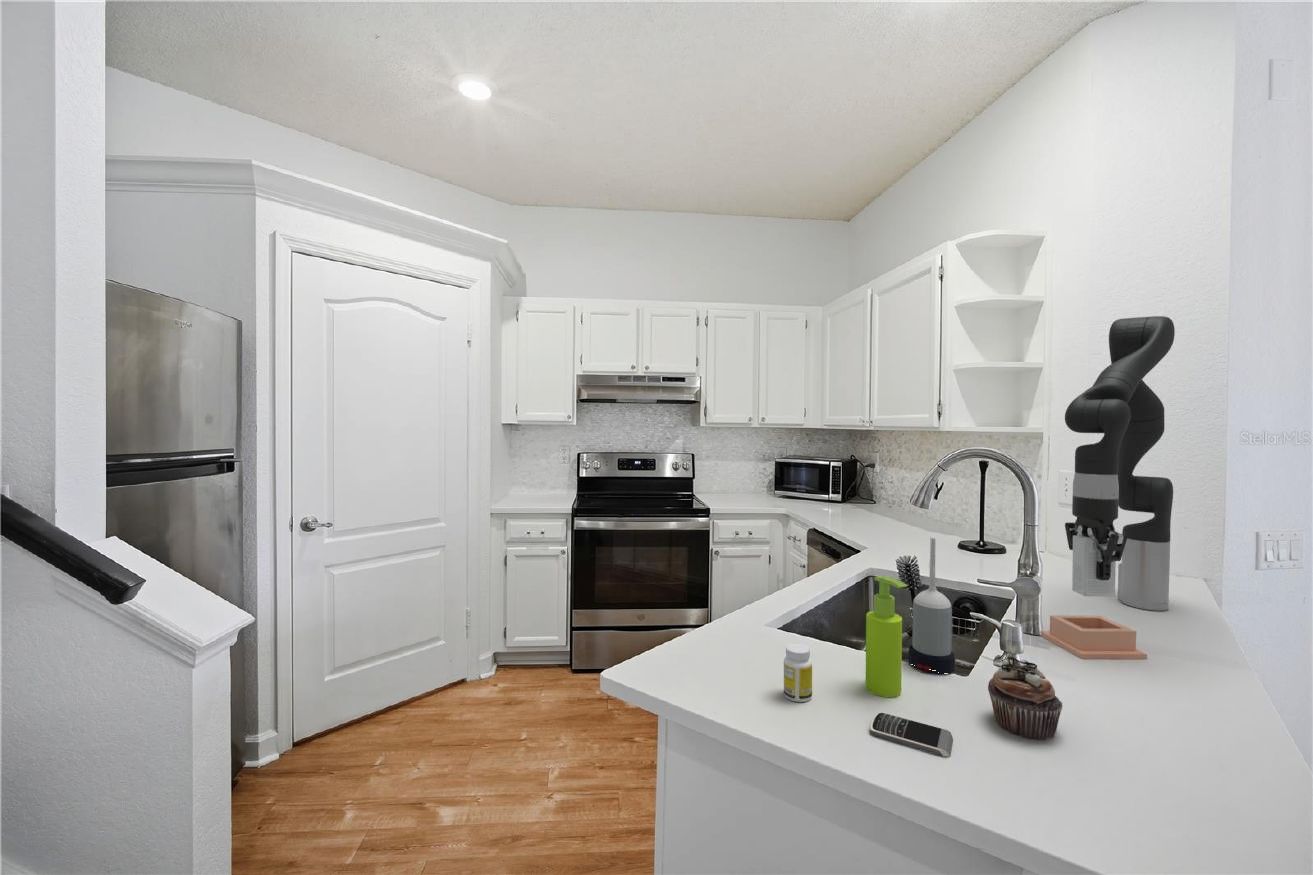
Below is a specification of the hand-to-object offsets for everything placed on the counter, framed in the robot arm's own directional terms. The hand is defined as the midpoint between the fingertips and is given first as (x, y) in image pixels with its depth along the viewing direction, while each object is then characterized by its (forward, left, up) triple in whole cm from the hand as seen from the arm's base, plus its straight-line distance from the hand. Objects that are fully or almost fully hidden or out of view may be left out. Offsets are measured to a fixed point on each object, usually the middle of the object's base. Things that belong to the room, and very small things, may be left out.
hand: (1093, 575), depth 115 cm
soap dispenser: (+19, -51, -15) cm, 57 cm away
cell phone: (+33, -53, -16) cm, 64 cm away
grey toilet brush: (+9, -38, -15) cm, 42 cm away
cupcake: (+30, -34, -15) cm, 48 cm away
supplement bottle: (+21, -67, -15) cm, 72 cm away
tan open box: (0, 0, -15) cm, 15 cm away
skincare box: (0, 0, -4) cm, 4 cm away
